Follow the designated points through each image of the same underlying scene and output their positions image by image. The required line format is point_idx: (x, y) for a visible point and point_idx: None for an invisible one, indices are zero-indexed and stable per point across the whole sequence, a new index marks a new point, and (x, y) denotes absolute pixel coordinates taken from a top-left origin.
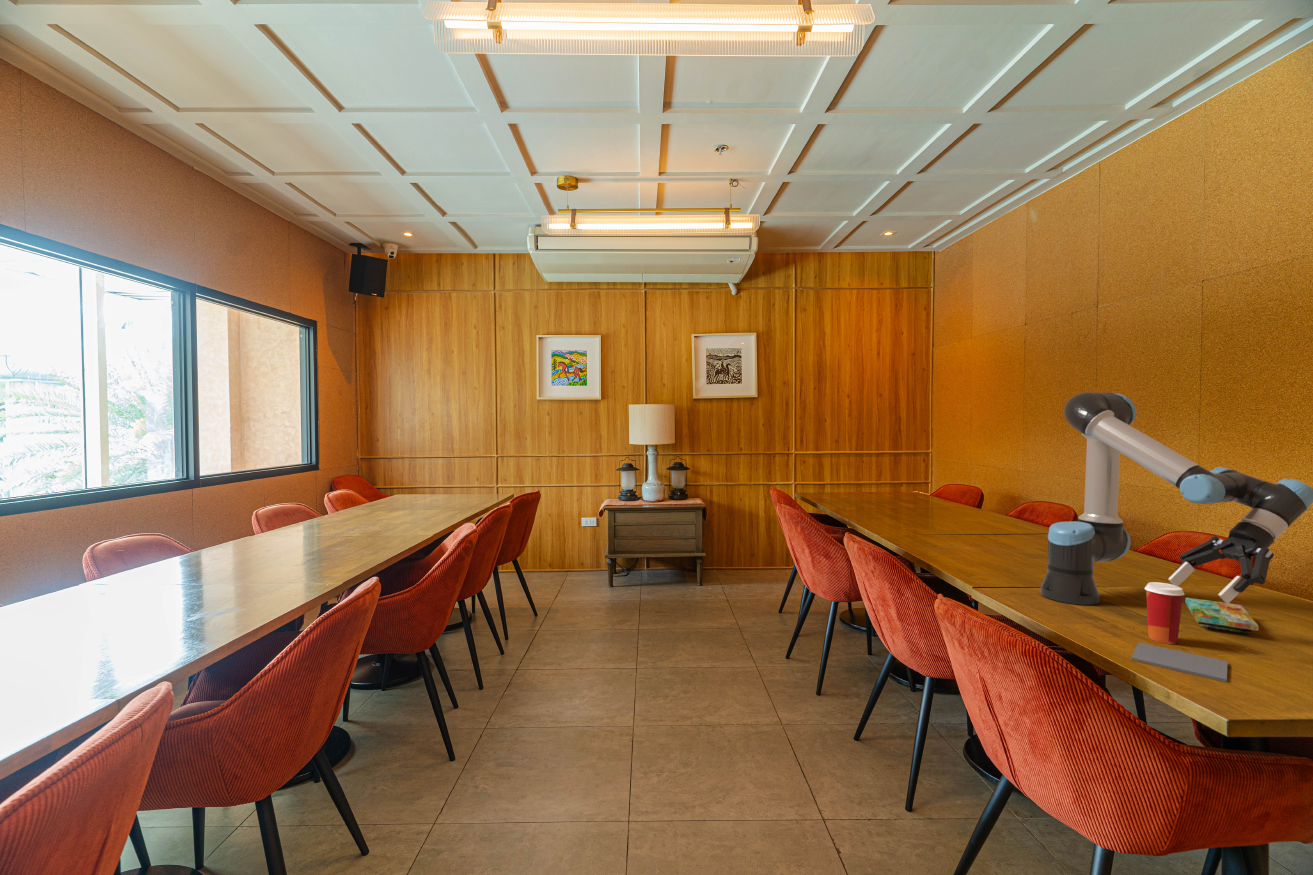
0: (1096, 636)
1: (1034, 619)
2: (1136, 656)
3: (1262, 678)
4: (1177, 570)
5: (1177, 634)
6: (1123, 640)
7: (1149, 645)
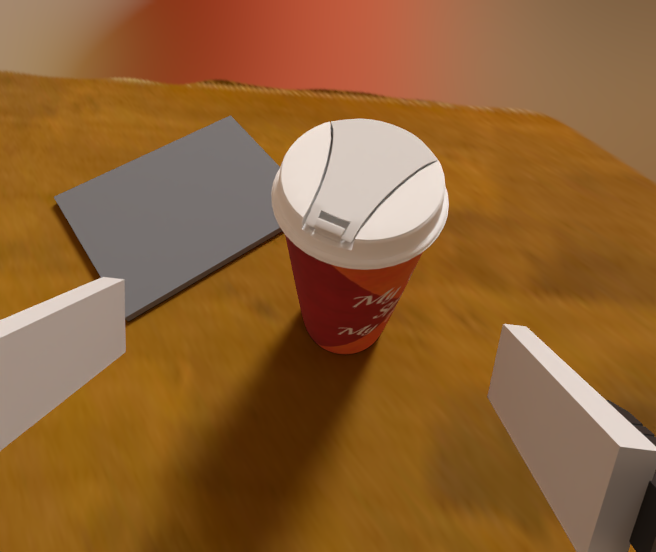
0: None
1: (527, 115)
2: (232, 129)
3: None
4: (567, 372)
5: (302, 314)
6: None
7: None
